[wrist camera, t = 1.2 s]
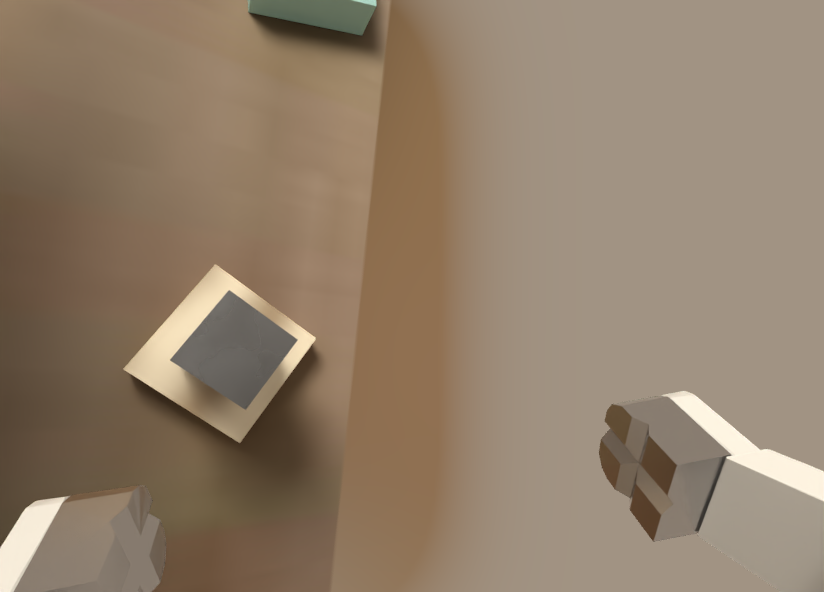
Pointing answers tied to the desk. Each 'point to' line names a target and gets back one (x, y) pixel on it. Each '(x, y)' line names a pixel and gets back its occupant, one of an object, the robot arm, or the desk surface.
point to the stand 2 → (319, 12)
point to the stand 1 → (190, 390)
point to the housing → (235, 350)
